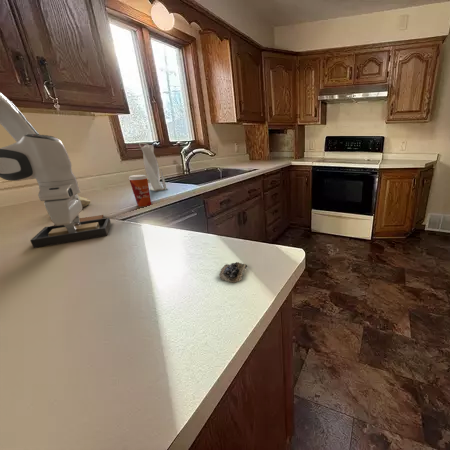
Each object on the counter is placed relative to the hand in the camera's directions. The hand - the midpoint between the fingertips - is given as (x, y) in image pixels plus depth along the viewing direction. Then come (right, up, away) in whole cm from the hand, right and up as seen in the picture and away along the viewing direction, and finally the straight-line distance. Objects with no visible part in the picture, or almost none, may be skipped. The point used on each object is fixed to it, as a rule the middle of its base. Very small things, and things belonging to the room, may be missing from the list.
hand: (75, 230), depth 81 cm
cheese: (-27, +9, +31) cm, 42 cm away
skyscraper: (-14, +23, +70) cm, 75 cm away
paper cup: (0, +11, +36) cm, 38 cm away
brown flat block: (-10, +3, +12) cm, 16 cm away
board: (0, -1, 0) cm, 1 cm away
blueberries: (+60, -10, -25) cm, 65 cm away
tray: (0, -2, +1) cm, 2 cm away
